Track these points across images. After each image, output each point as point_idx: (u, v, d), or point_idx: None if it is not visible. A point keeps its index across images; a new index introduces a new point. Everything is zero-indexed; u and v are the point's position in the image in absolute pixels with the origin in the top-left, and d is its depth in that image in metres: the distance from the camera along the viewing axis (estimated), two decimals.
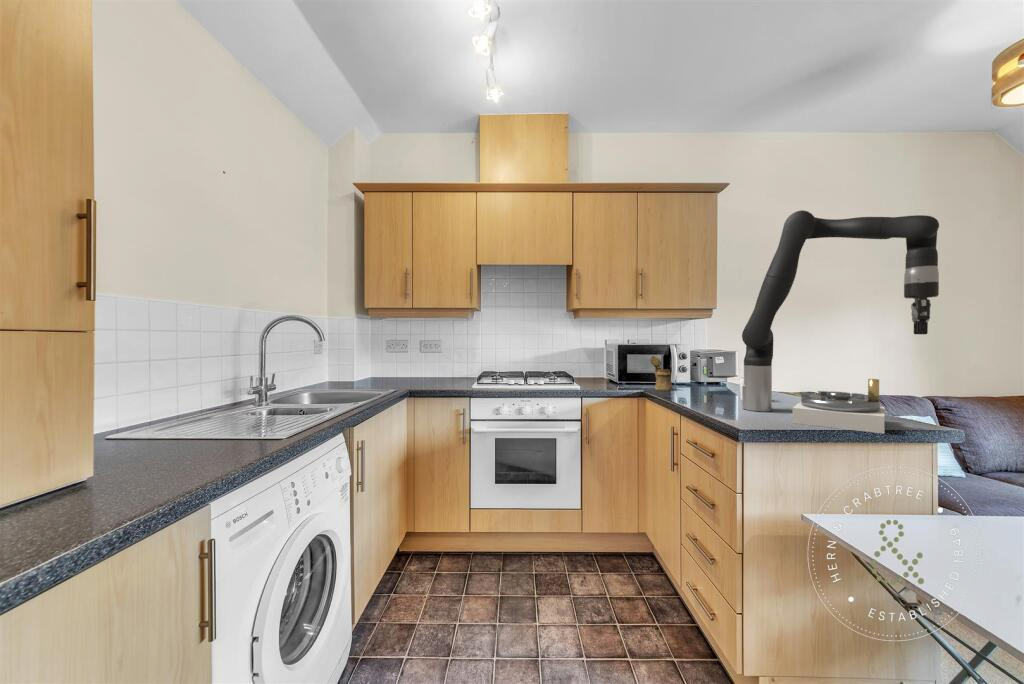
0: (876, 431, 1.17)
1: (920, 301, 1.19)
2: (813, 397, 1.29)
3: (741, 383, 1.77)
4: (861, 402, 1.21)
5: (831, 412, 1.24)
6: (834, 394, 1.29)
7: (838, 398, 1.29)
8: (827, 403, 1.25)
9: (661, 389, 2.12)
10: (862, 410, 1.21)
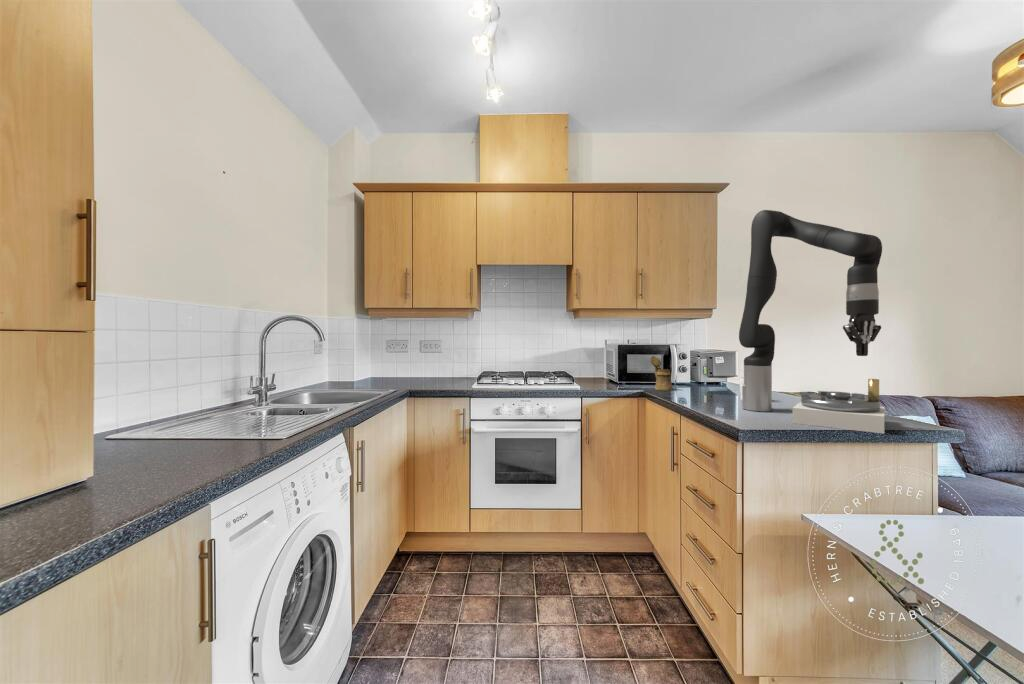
0: (876, 431, 1.17)
1: None
2: (813, 397, 1.29)
3: (741, 383, 1.77)
4: (861, 402, 1.21)
5: (831, 412, 1.24)
6: (834, 394, 1.29)
7: (838, 398, 1.29)
8: (827, 403, 1.25)
9: (661, 388, 2.12)
10: (862, 410, 1.21)
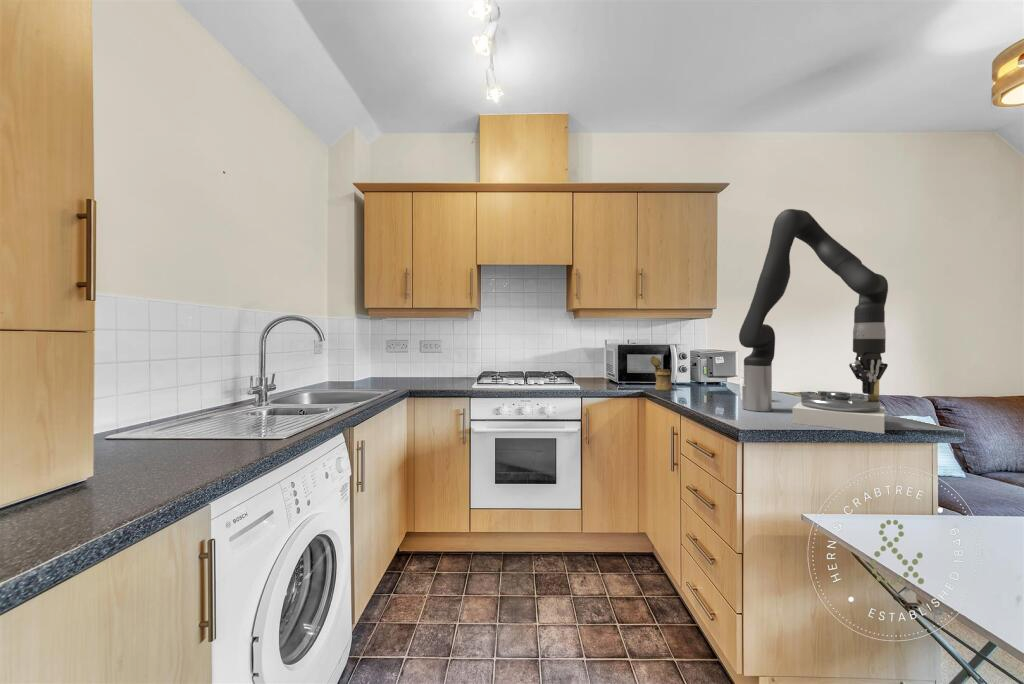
0: (876, 431, 1.17)
1: None
2: (813, 397, 1.29)
3: (741, 383, 1.77)
4: (861, 402, 1.21)
5: (831, 412, 1.24)
6: (834, 394, 1.29)
7: (838, 398, 1.29)
8: (827, 403, 1.25)
9: (661, 389, 2.12)
10: (862, 410, 1.21)
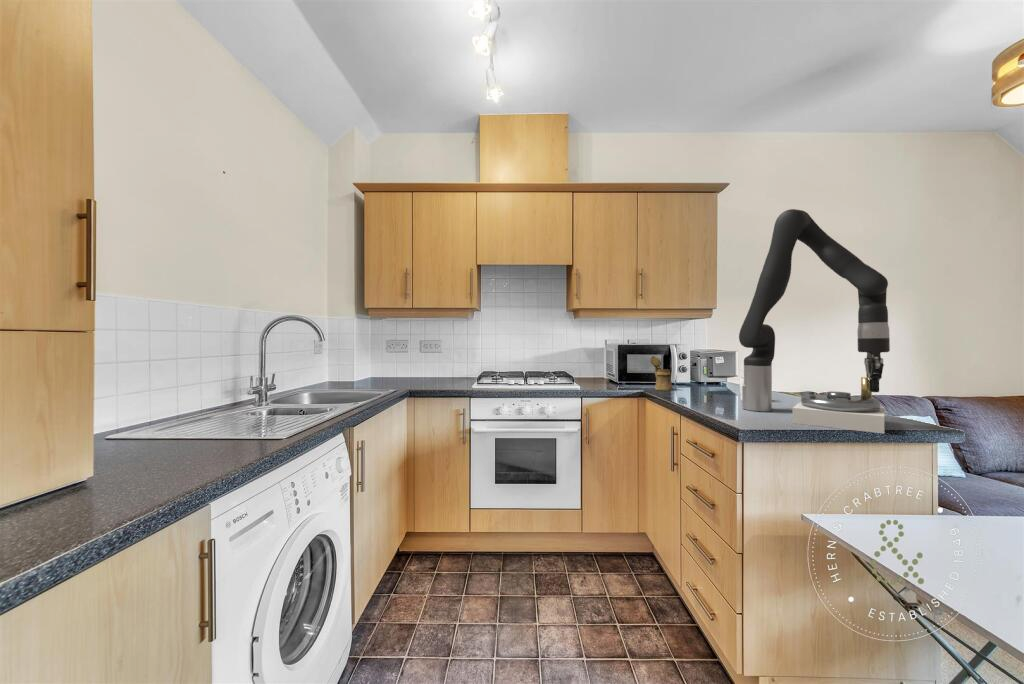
0: (876, 431, 1.17)
1: None
2: (837, 400, 1.23)
3: (741, 383, 1.77)
4: (878, 401, 1.22)
5: (831, 412, 1.24)
6: (842, 395, 1.28)
7: (846, 398, 1.28)
8: (854, 405, 1.21)
9: (661, 389, 2.12)
10: (878, 409, 1.23)
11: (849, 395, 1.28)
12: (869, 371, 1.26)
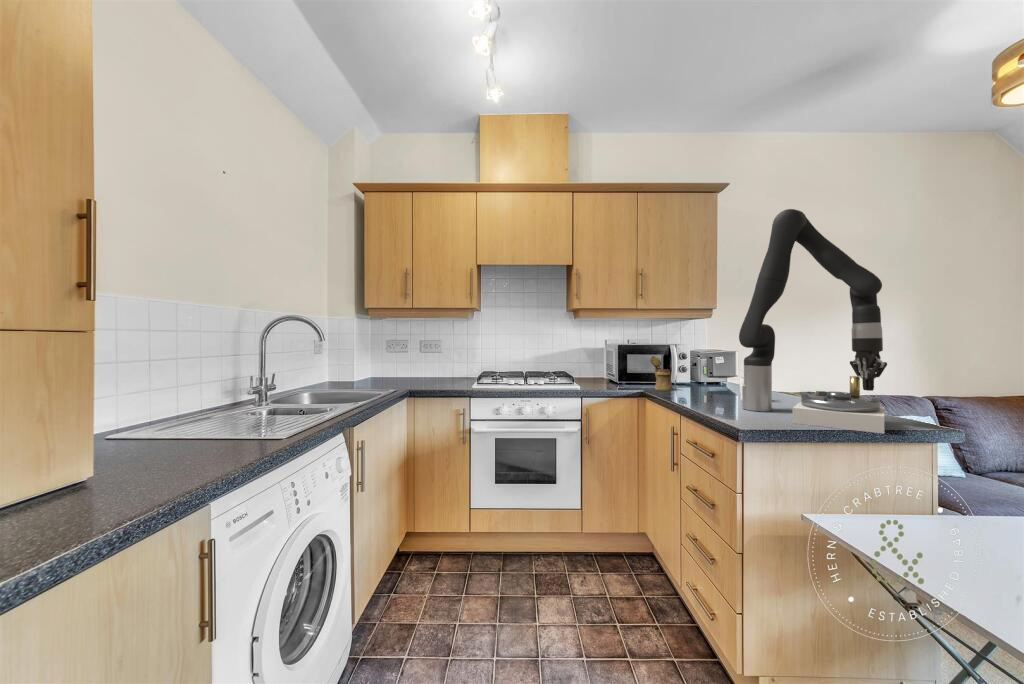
0: (876, 431, 1.17)
1: None
2: (856, 401, 1.21)
3: (741, 383, 1.77)
4: None
5: (831, 412, 1.24)
6: (847, 395, 1.28)
7: (849, 398, 1.28)
8: (870, 405, 1.21)
9: (661, 388, 2.12)
10: None
11: (850, 395, 1.29)
12: (867, 370, 1.28)
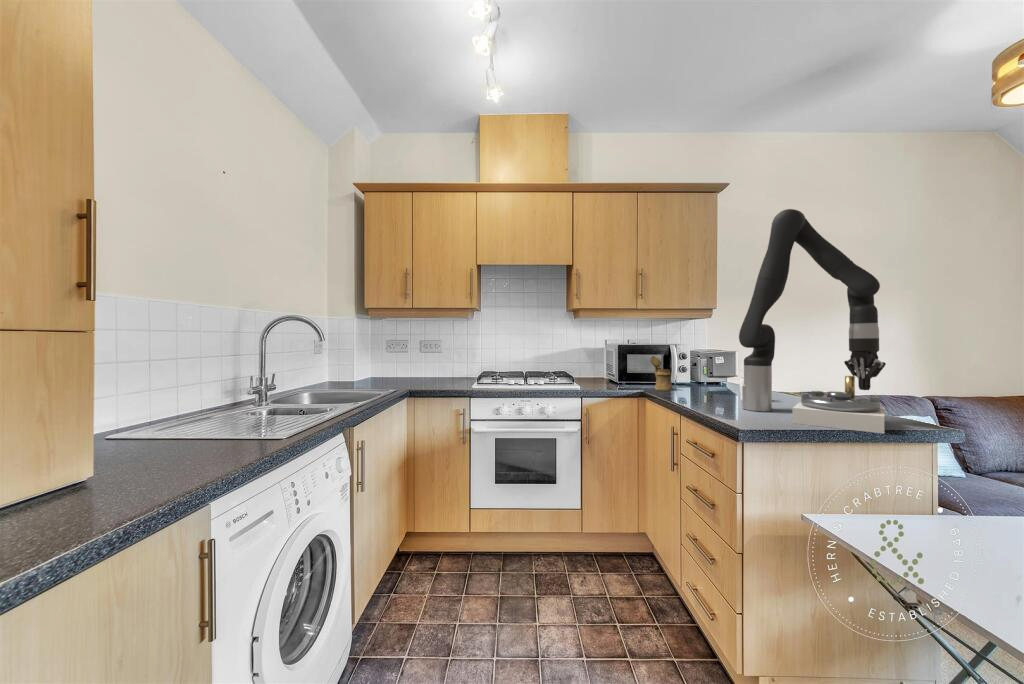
0: (876, 431, 1.17)
1: None
2: (862, 401, 1.21)
3: (741, 383, 1.77)
4: None
5: (831, 412, 1.24)
6: (848, 395, 1.28)
7: (850, 398, 1.28)
8: (874, 405, 1.22)
9: (661, 389, 2.12)
10: None
11: None
12: (864, 370, 1.30)
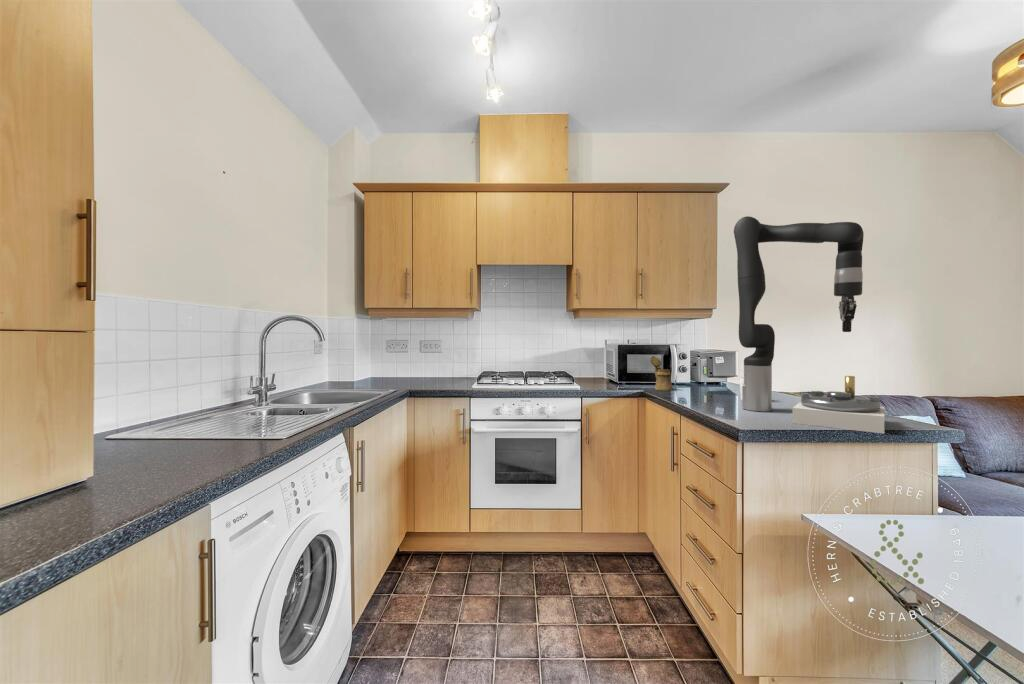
0: (876, 431, 1.17)
1: None
2: (862, 401, 1.21)
3: (741, 383, 1.77)
4: None
5: (831, 412, 1.24)
6: (848, 395, 1.28)
7: (850, 398, 1.28)
8: (874, 405, 1.22)
9: (661, 388, 2.12)
10: None
11: None
12: (843, 313, 1.38)
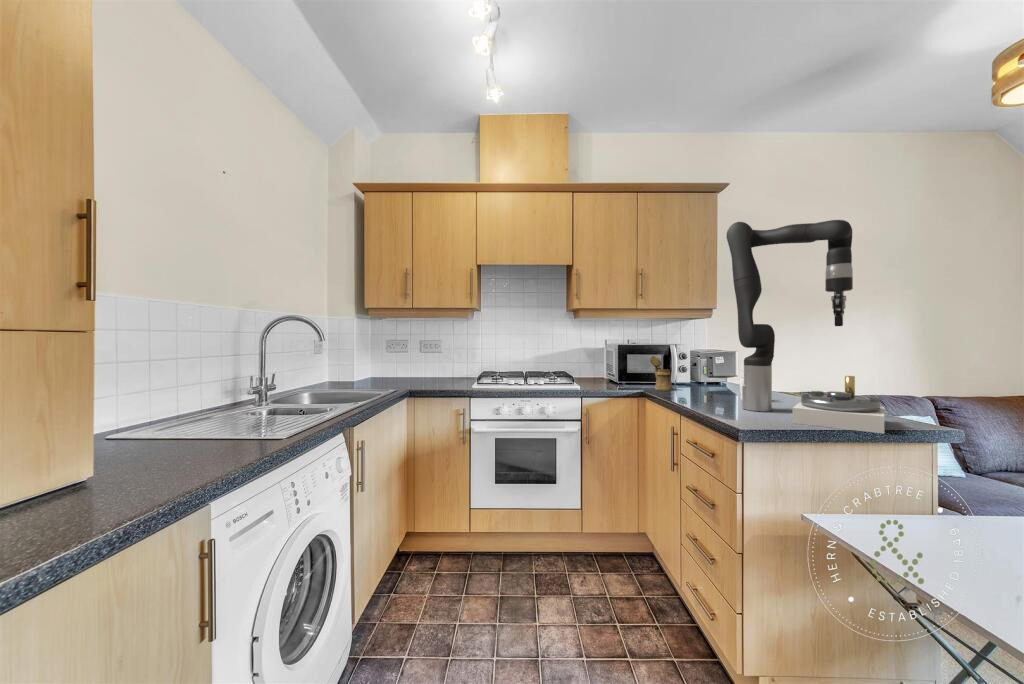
0: (876, 431, 1.17)
1: None
2: (862, 401, 1.21)
3: (741, 383, 1.77)
4: None
5: (831, 412, 1.24)
6: (848, 395, 1.28)
7: (850, 398, 1.28)
8: (874, 405, 1.22)
9: (661, 389, 2.12)
10: None
11: None
12: None
